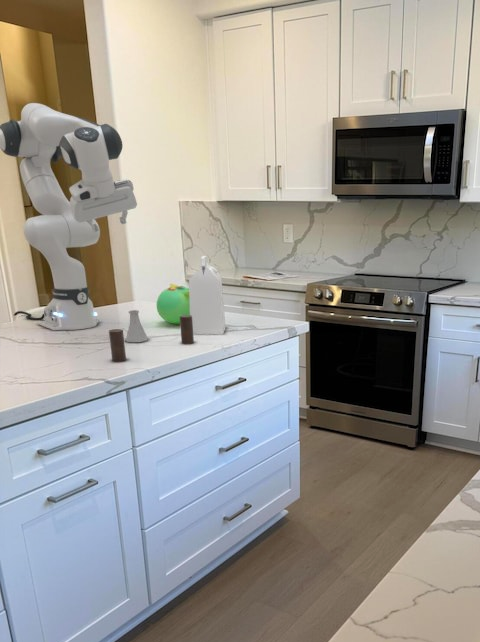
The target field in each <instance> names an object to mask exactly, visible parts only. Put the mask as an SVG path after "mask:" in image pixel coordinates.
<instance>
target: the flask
mask: <svg viewBox="0 0 480 642" xmlns="http://www.w3.org/2000/svg"><path fill="white" fill-rule="evenodd" d="M139 313H140V310H137V309H133V310H131V309H130V310H128V314H129V325H128V330H127V334H126V338H125V342H128V343H142V342H147V341H148V339H149V337H148V336H147V333H146V332H145V330H144V327H143V325H142V323H141V320H140V316H139Z"/></svg>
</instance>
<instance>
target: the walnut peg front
mask: <svg viewBox="0 0 480 642" xmlns="http://www.w3.org/2000/svg"><path fill="white" fill-rule="evenodd" d="M108 337H109V346H110V353H111V361H112V362H114V363H115V362H116V363H121V362H126V361H127V354H126V344H125V335H124V330H123V329H121V328H114V329H113V328H112V329H109V330H108Z"/></svg>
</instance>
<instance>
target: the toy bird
mask: <svg viewBox="0 0 480 642" xmlns="http://www.w3.org/2000/svg"><path fill="white" fill-rule="evenodd" d="M169 286H170V287H167V288H165V289H164V290H163V291H162V292H160V294H159V295H158V297H157V300H156V311H157V314H158V315H159V317H160V318H161V319H162V320H164V321H166V322H167V323H170V324H172V325H173V324H174V325H180V316H181V315H190V302H189V287H186V286H183V285H180V286H179V285H177V284H174V283H169Z"/></svg>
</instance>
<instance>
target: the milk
mask: <svg viewBox="0 0 480 642" xmlns="http://www.w3.org/2000/svg"><path fill="white" fill-rule="evenodd" d="M200 264H201V266H200V267H199V268H198V269H197V270H196V272H195V273H194V274H193V275H192V276H191V277H190V278H189V279H188V288H189V302H190V315H191V316H192V322H193V335H224V333H225V330H226V317H225V316H226V315H225V303H224V293H223V280H222V279H223V278H222V276H221V275H220V273H218V272H219V271H218V270H217V269H216V268H215V266H212V265H210V264H209V263H208V256H207V255H202V256H200Z"/></svg>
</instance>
